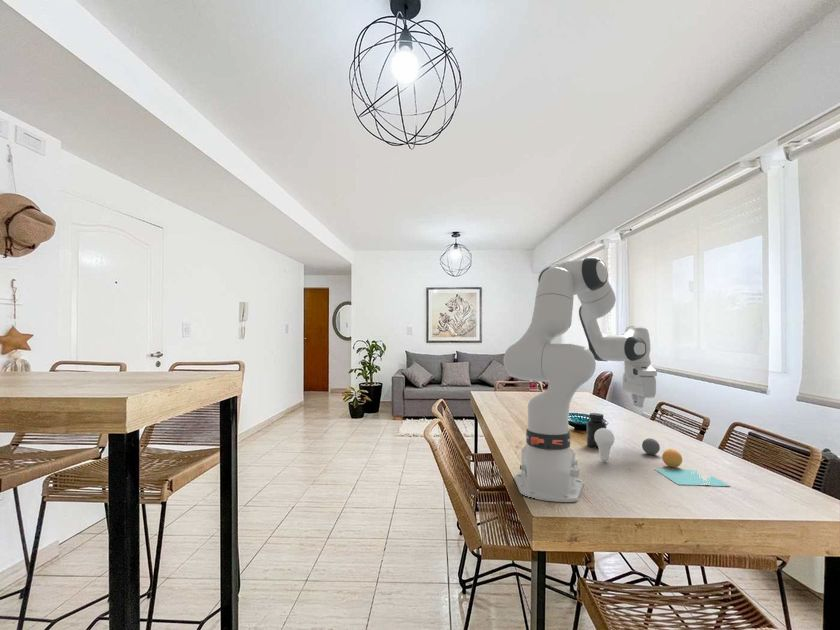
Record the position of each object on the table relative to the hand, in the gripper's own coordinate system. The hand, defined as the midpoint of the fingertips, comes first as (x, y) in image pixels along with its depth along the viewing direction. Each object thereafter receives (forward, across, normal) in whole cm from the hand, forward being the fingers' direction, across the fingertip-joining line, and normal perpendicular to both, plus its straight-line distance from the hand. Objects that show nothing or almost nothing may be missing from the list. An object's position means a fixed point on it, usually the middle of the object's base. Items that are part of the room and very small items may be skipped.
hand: (638, 406), depth 159 cm
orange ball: (+12, +24, 0) cm, 27 cm away
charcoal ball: (+12, +10, 0) cm, 16 cm away
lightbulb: (+15, +21, -20) cm, 32 cm away
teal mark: (+15, +34, 0) cm, 37 cm away
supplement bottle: (+15, 0, -15) cm, 22 cm away
